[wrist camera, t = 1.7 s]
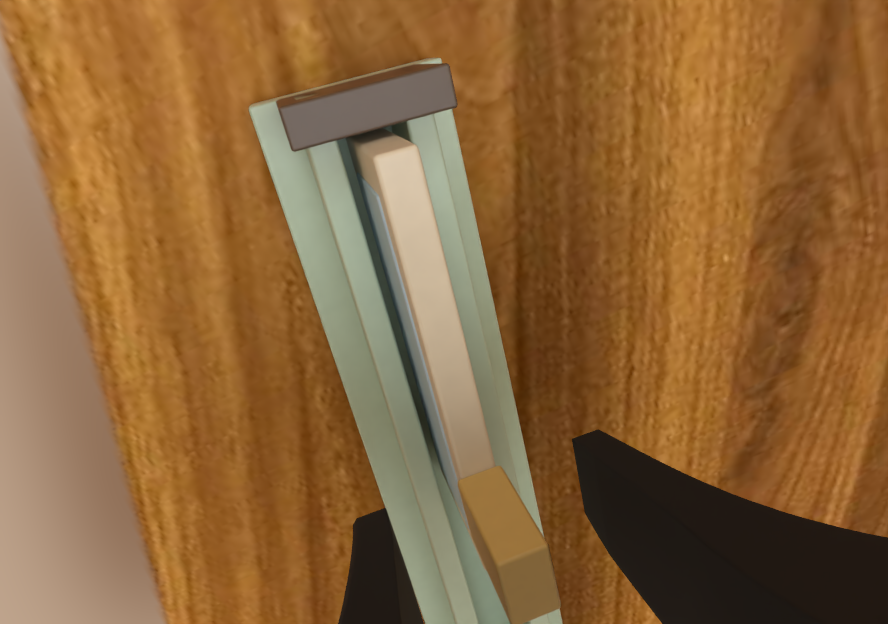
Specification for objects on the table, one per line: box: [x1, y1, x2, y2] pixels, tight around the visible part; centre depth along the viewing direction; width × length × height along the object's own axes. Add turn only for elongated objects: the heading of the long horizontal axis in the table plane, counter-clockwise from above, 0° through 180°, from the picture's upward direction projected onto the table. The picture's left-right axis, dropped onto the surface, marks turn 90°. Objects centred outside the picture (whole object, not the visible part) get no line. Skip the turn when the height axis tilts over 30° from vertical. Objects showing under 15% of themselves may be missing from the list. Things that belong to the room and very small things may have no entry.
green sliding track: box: [249, 58, 563, 624], centre depth 17 cm, size 21×4×4 cm, turn 13°
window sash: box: [346, 128, 561, 624], centre depth 13 cm, size 10×1×6 cm, turn 13°
